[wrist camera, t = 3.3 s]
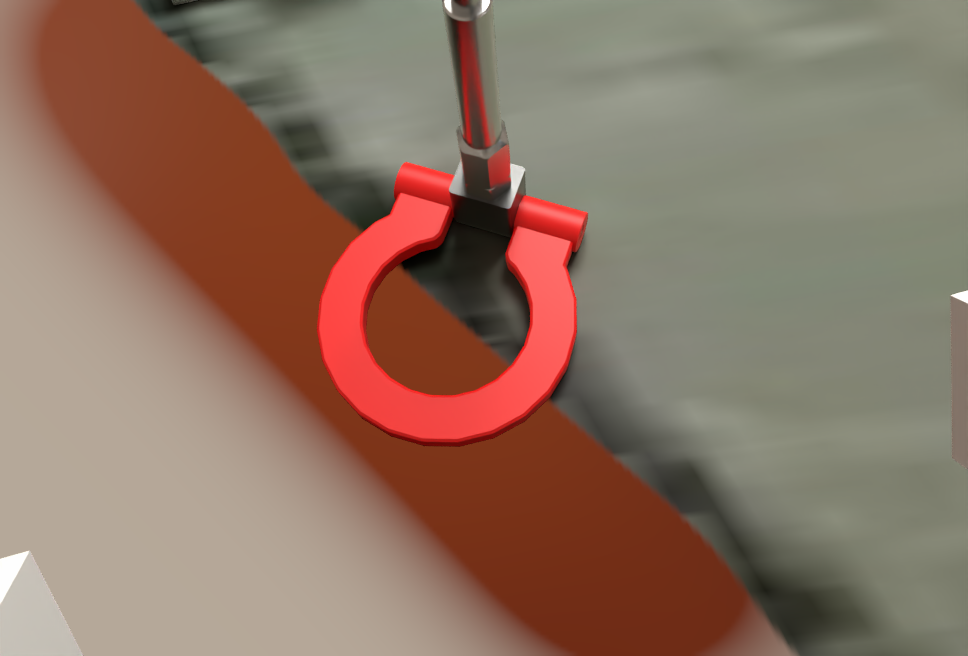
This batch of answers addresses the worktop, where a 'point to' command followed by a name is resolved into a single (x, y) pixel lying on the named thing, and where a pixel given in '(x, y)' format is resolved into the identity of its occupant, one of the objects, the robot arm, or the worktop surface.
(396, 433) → the tow hook
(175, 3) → the hinge leaf
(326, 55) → the worktop surface
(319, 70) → the worktop surface
